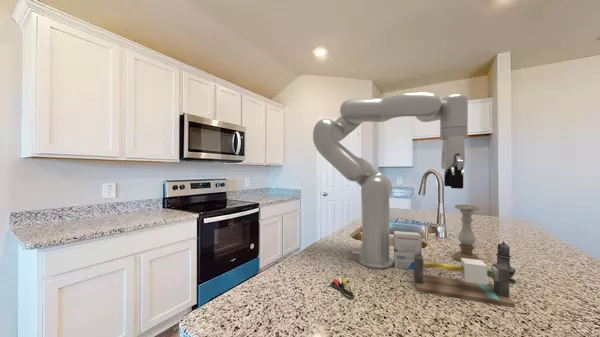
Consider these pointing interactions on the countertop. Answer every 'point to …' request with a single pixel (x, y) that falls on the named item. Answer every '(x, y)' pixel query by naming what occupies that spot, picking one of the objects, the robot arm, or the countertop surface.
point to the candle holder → (466, 234)
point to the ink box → (406, 248)
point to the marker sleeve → (474, 271)
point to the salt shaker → (505, 259)
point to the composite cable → (341, 287)
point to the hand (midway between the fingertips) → (453, 187)
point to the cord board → (463, 283)
